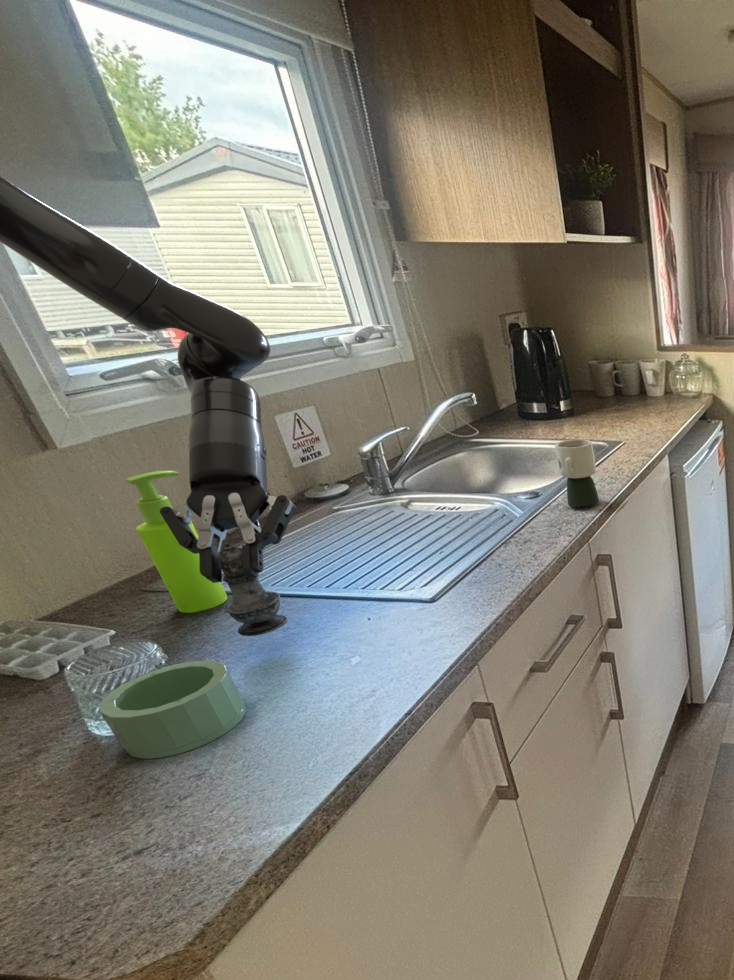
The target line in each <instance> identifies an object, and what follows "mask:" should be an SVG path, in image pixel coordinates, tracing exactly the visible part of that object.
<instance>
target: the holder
mask: <svg viewBox="0 0 734 980" xmlns="http://www.w3.org/2000/svg"><path fill="white" fill-rule="evenodd" d="M246 712H247V707H246V704H245V703H244V700H243V697H242V694H241V693H240V690H239V689H238V687H237V685H236V684H235V682H234V680H233V678H232V675H231V674H230V672H229V669H228V668H227V666H226V665H225V664H224V663H221V662H218V661H215V660H194V661H186V662H182V663H181V662H180V663H175V664H171V665H168V666H165V667H161V668H158V669H155V670H151V671H149V672H146V673H145V674H144V673H143V674H142V675H140V676H137V677H135V678H132V679H130V680H128V681H126V682H125V683H123V684H121V685H120V686H118V687H116V688H115V689H114V690H112V691H111V692H109V693H108V694H107V695H106V696H105V697H104V699H102V700H101V702H100V703H99V713H100V715H101V716H102V718H103V720H104V721H105V723H106V725H107V726H108V727H109V730H110V731H111V732H112V734H113V735H114V737H115V739H116V740H117V742H118V743H119V745H120V746H121V747H122V749H124V750H125V752H126V753H127V754H128V755H129V756H131V757H133V758H137V759H147V760H148V759H149V760H150V759H151V760H152V759H160V758H166V757H171V756H175V755H180V754H183V753H186V752H189V751H192V750H195V749H197V748H200V747H202V746H204V745H207V744H209V743H211V742H213V741H215V740H217V739H219V738H220V737H222V736H224V735H225V734H227V733H229V732H230V731H231V730H233V729H234V728H235V727H236V726H237V725H239V723H240V722H241V721H242V720H243V719H244V717H245V715H246Z"/></svg>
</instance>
